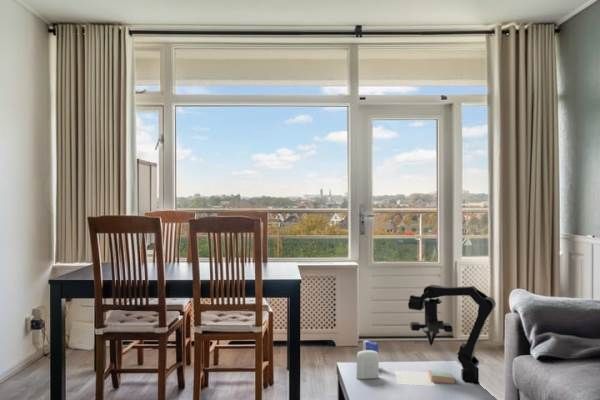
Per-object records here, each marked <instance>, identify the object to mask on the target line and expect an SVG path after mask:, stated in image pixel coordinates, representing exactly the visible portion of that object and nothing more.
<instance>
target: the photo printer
mask: <svg viewBox="0 0 600 400" xmlns="http://www.w3.org/2000/svg"><path fill="white" fill-rule="evenodd" d="M379 359H380V357H379V351H378V352H376V351H372V350H364V351H363V350H361V351H358V352H357V354H356V378H357V379H358V380H359V379H360V380H365V379H366V380H368V379H379V370H380V369H379V368H380V366H379V365H380V363H379V361H380V360H379Z"/></svg>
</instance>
